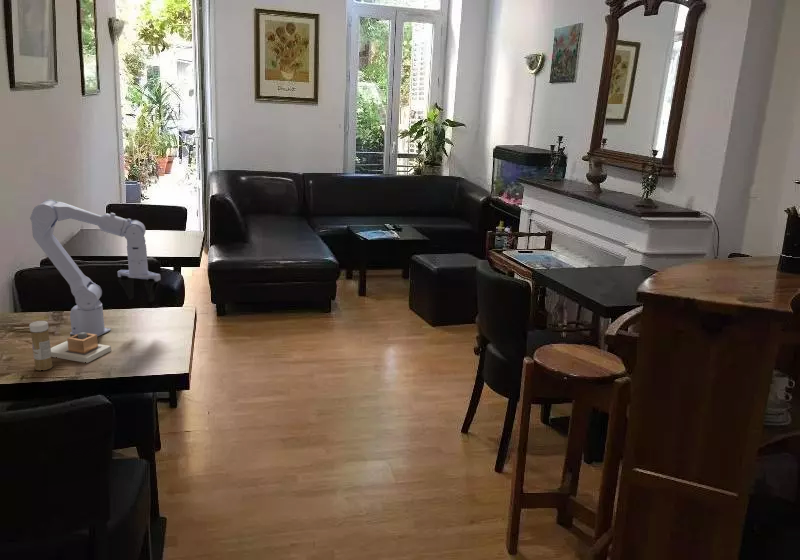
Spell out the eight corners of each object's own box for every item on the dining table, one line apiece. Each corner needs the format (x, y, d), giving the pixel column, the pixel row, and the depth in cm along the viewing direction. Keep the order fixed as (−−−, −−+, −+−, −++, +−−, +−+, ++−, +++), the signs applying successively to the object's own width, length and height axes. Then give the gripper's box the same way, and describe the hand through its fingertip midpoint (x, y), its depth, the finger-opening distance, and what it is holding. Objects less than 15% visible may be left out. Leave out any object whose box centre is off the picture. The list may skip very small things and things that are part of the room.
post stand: (45, 355, 193) (42, 334, 191) (70, 343, 202) (68, 324, 200) (87, 362, 189) (85, 341, 187) (111, 350, 198) (109, 330, 196)
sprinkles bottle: (32, 367, 184) (26, 322, 181) (49, 363, 188) (43, 319, 184) (39, 372, 182) (33, 327, 178) (56, 367, 185) (50, 322, 181)
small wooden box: (68, 351, 193) (67, 338, 192) (82, 344, 198) (81, 332, 197) (84, 353, 191) (82, 340, 190) (98, 347, 196) (96, 334, 195)
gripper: (109, 260, 207) (113, 301, 211) (149, 264, 203) (153, 306, 207) (124, 255, 213) (127, 294, 217) (163, 259, 210) (166, 299, 214)
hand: (141, 299), depth 213 cm, fingers open, 7 cm apart
